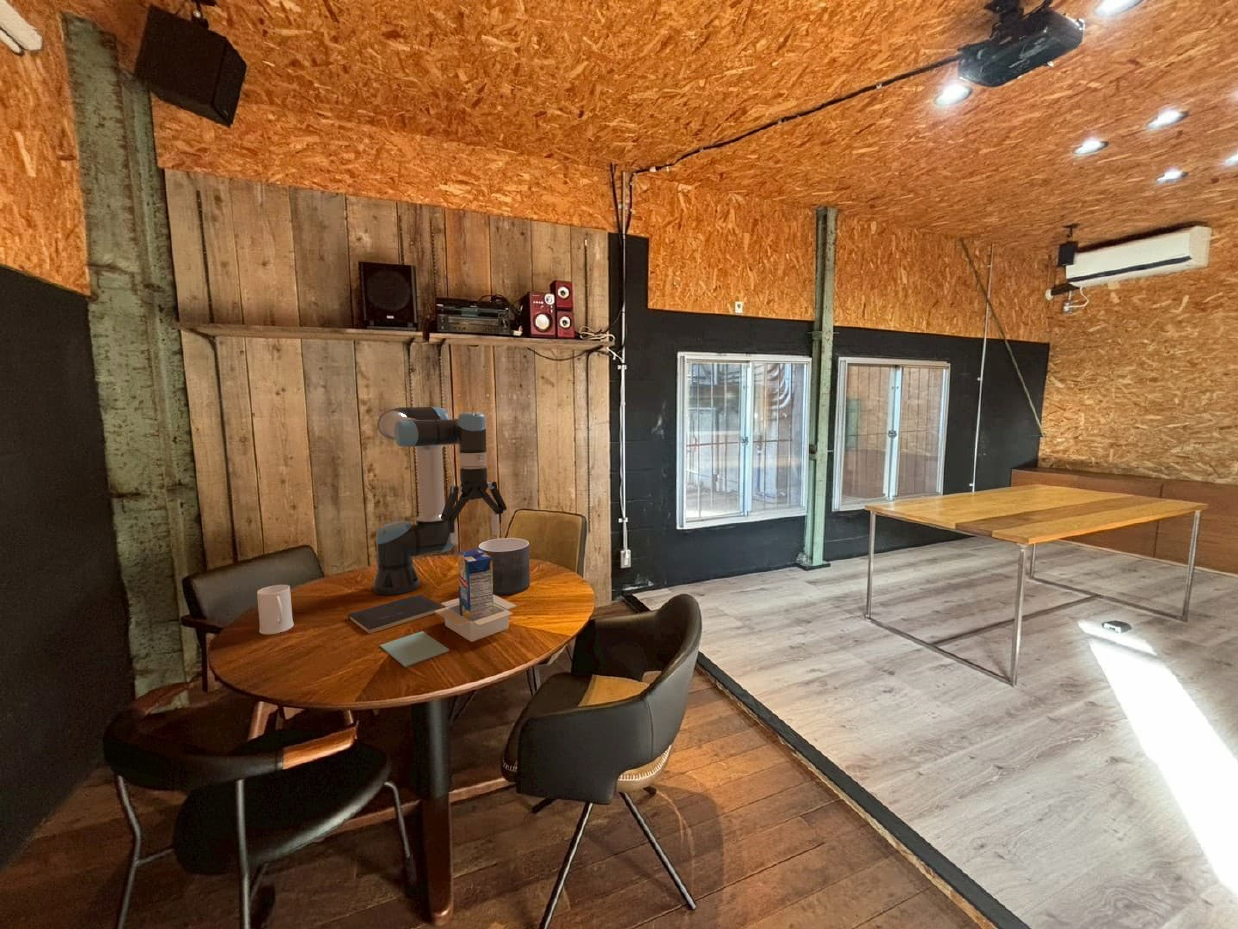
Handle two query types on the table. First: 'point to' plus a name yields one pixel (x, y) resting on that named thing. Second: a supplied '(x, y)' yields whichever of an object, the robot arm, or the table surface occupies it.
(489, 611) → the beverage box
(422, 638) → the mat
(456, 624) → the carton
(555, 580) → the table surface
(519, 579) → the planter
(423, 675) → the table surface
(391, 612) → the hardcover book
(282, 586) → the mug
